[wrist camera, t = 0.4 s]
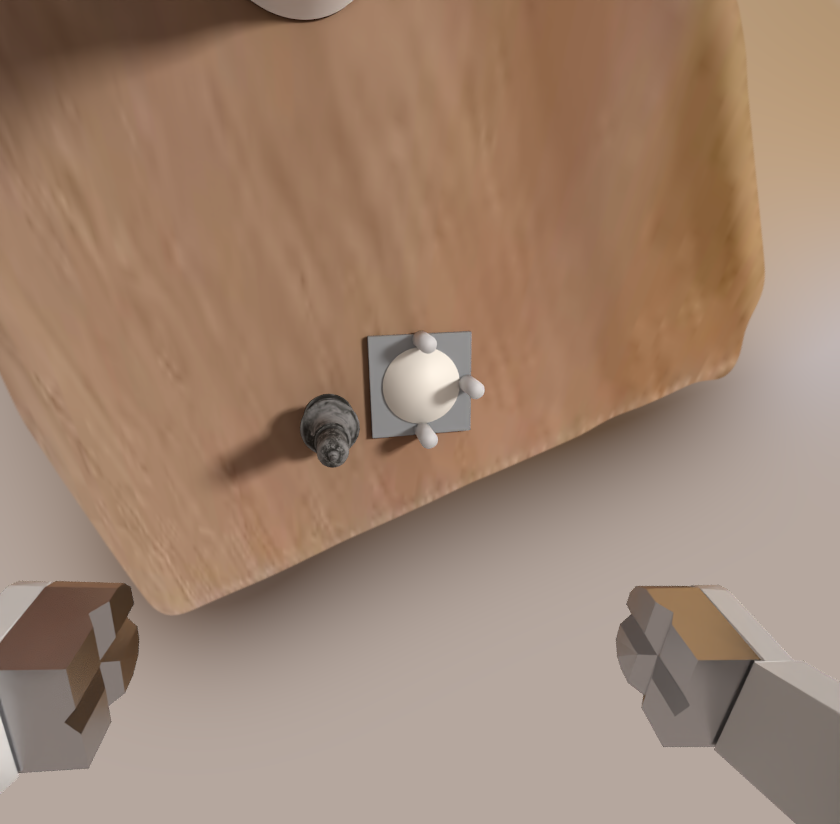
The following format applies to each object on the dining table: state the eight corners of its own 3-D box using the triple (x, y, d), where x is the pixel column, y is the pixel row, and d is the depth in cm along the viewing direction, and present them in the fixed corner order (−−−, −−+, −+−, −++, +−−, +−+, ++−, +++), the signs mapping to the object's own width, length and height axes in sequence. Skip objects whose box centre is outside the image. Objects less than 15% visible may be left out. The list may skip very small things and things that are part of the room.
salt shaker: (363, 400, 55) (377, 437, 44) (346, 449, 56) (356, 498, 45) (310, 384, 54) (310, 418, 42) (293, 435, 55) (289, 482, 43)
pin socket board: (367, 332, 53) (371, 338, 49) (473, 327, 55) (485, 332, 51) (372, 439, 57) (376, 453, 53) (472, 431, 59) (483, 443, 55)
